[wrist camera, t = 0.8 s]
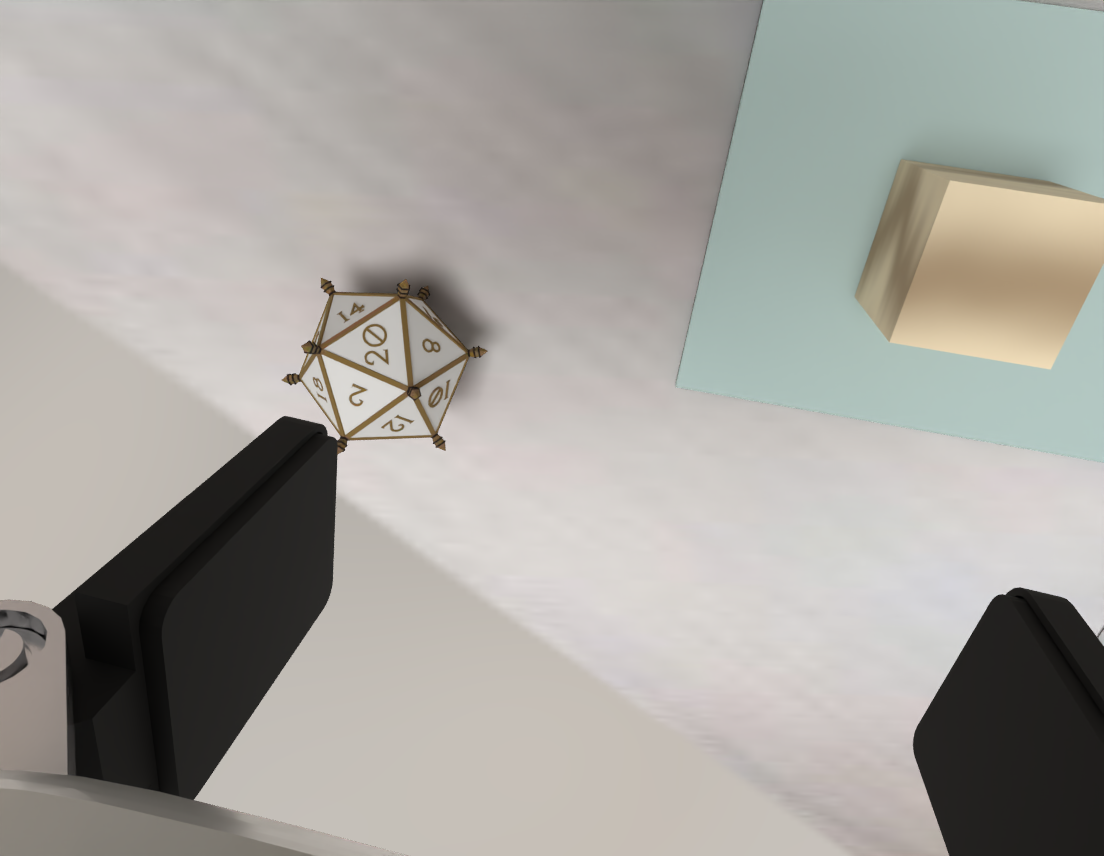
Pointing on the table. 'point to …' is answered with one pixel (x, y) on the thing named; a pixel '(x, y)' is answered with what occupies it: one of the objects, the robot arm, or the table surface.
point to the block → (982, 263)
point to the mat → (859, 200)
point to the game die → (382, 365)
